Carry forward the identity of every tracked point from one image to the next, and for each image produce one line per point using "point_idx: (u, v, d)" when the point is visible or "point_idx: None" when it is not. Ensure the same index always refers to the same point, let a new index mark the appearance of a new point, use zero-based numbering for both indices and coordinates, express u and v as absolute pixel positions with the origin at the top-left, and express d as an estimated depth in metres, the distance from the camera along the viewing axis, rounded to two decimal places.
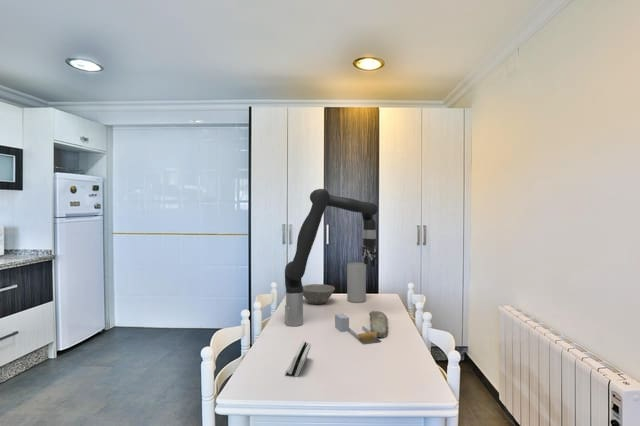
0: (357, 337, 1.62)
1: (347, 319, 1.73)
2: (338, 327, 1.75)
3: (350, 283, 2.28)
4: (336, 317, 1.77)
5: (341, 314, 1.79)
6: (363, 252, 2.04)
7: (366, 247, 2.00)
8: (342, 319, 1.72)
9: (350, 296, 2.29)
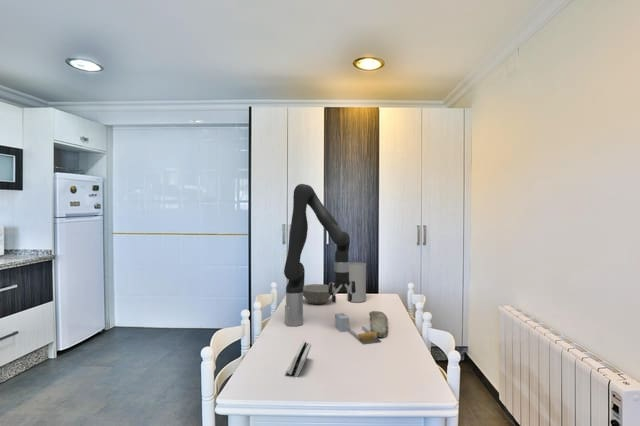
0: (357, 337, 1.62)
1: (347, 318, 1.73)
2: (338, 327, 1.75)
3: None
4: (336, 317, 1.77)
5: (341, 314, 1.79)
6: None
7: (339, 282, 1.75)
8: (342, 319, 1.72)
9: None
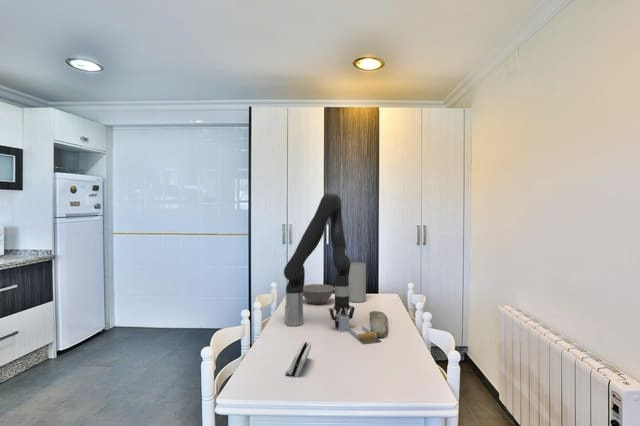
0: (357, 337, 1.62)
1: (347, 318, 1.73)
2: None
3: (350, 283, 2.28)
4: None
5: (341, 314, 1.79)
6: None
7: (339, 306, 1.75)
8: (342, 319, 1.72)
9: (350, 296, 2.29)
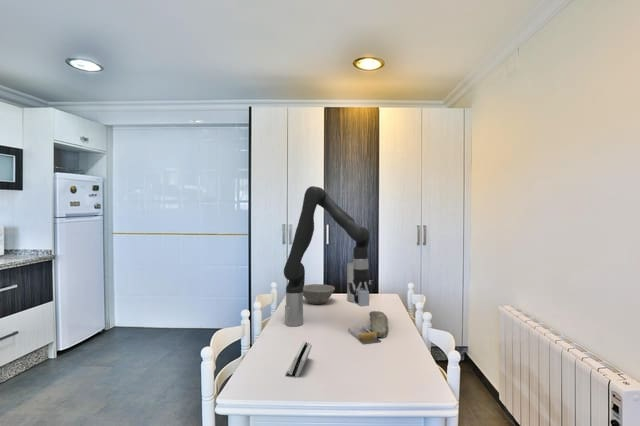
0: (357, 337, 1.62)
1: (367, 292, 1.66)
2: (358, 302, 1.67)
3: None
4: None
5: None
6: (353, 289, 1.67)
7: (359, 280, 1.67)
8: (362, 293, 1.65)
9: (350, 296, 2.29)
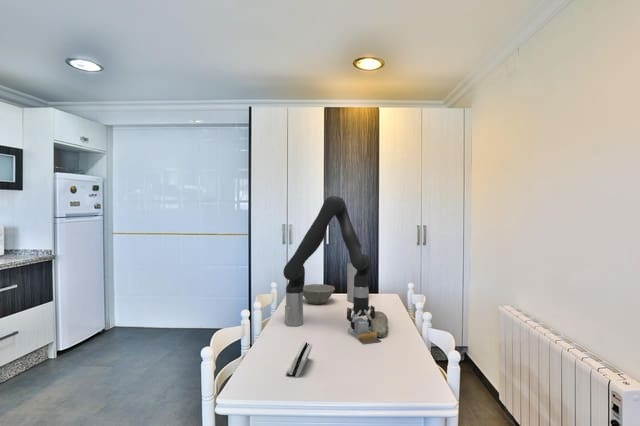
0: (357, 337, 1.62)
1: (366, 323, 1.66)
2: (357, 332, 1.67)
3: (350, 283, 2.28)
4: None
5: (360, 319, 1.71)
6: None
7: (358, 308, 1.67)
8: (361, 324, 1.65)
9: (350, 296, 2.29)
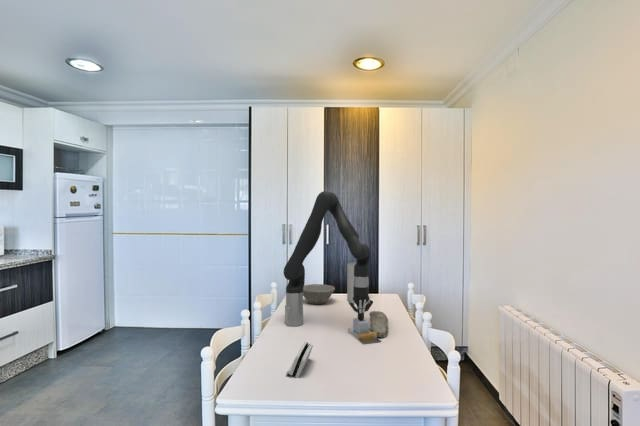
0: (357, 337, 1.62)
1: (366, 323, 1.66)
2: (357, 332, 1.67)
3: (350, 283, 2.28)
4: (354, 322, 1.70)
5: None
6: (355, 307, 1.67)
7: (359, 297, 1.67)
8: (361, 324, 1.65)
9: (350, 296, 2.29)
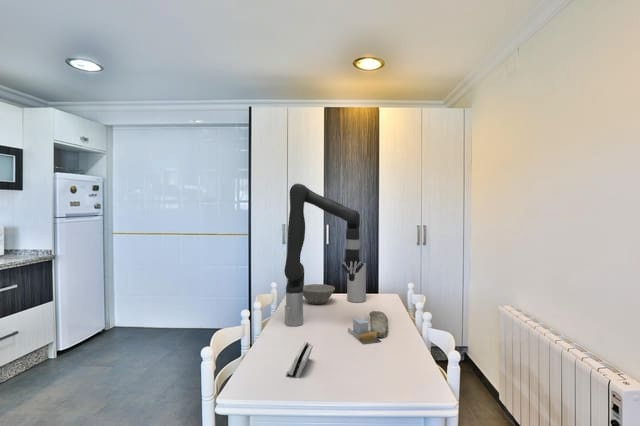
0: (357, 337, 1.62)
1: (366, 323, 1.66)
2: (357, 332, 1.67)
3: (350, 283, 2.28)
4: (354, 322, 1.70)
5: (360, 319, 1.71)
6: (346, 268, 1.78)
7: (350, 259, 1.79)
8: (361, 324, 1.65)
9: (350, 296, 2.29)
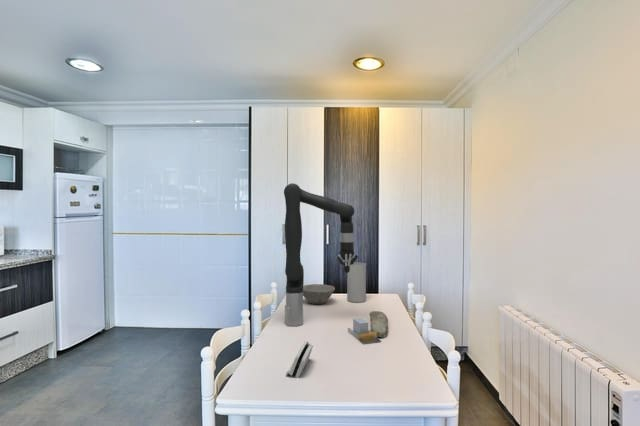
0: (357, 337, 1.62)
1: (366, 323, 1.65)
2: (357, 332, 1.67)
3: (350, 283, 2.28)
4: (354, 322, 1.70)
5: (360, 319, 1.71)
6: (341, 260, 1.86)
7: (344, 252, 1.86)
8: (361, 324, 1.65)
9: (350, 296, 2.29)
